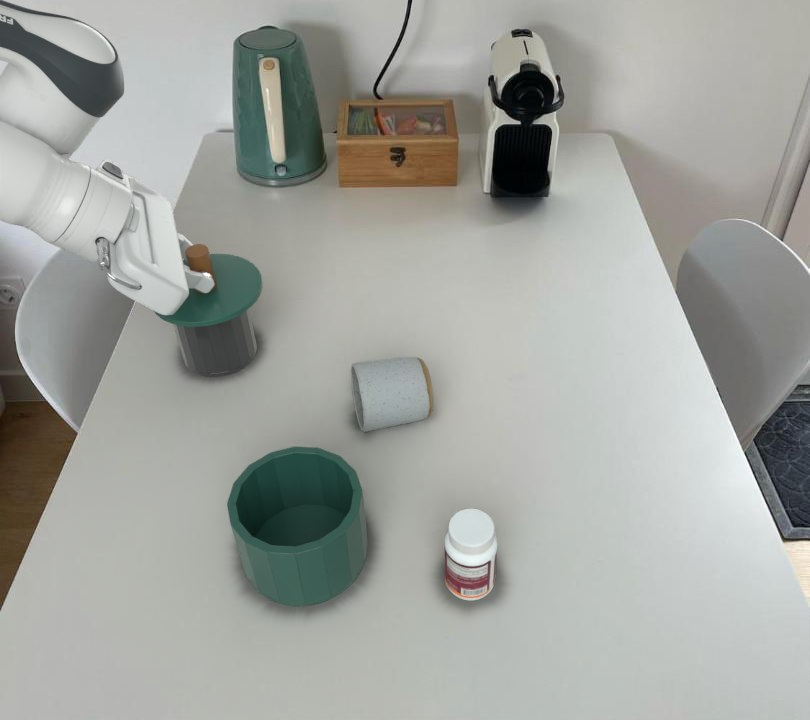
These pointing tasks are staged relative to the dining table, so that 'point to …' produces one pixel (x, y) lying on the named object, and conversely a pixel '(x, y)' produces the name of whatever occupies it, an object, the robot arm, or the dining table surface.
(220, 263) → the tin lid
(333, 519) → the tin
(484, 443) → the dining table surface
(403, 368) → the ceramic mug
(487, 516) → the pill bottle
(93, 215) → the robot arm
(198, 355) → the cup
